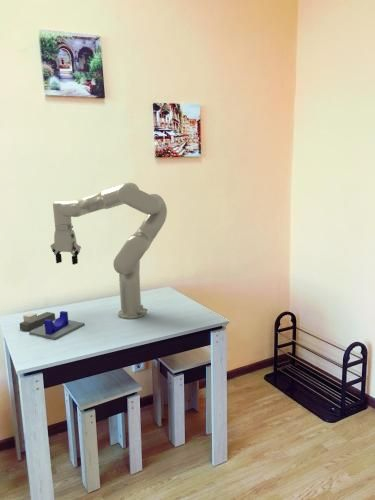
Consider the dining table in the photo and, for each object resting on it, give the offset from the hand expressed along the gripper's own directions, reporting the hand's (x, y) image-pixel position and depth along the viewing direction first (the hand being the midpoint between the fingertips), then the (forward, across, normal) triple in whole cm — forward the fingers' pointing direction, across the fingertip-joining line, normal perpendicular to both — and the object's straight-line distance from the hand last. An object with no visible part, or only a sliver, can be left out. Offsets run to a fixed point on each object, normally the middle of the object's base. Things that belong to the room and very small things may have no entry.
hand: (67, 263), depth 197 cm
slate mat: (+26, -7, +18) cm, 32 cm away
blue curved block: (+25, -8, +19) cm, 32 cm away
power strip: (+25, +6, +16) cm, 31 cm away
